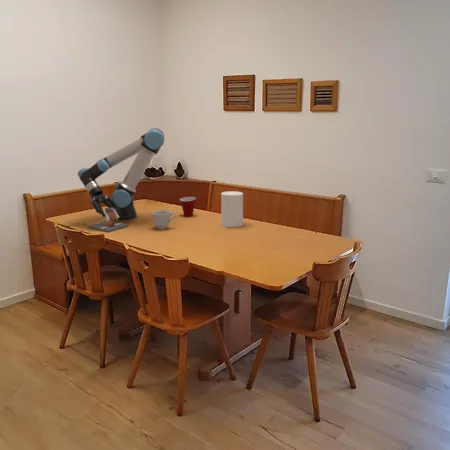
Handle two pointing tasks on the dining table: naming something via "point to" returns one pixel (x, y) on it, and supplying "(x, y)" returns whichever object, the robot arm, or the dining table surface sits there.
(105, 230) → the board
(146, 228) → the dining table surface
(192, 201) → the plastic cup
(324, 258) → the dining table surface
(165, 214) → the teacup
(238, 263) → the dining table surface
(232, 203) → the canister
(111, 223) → the spice shaker
